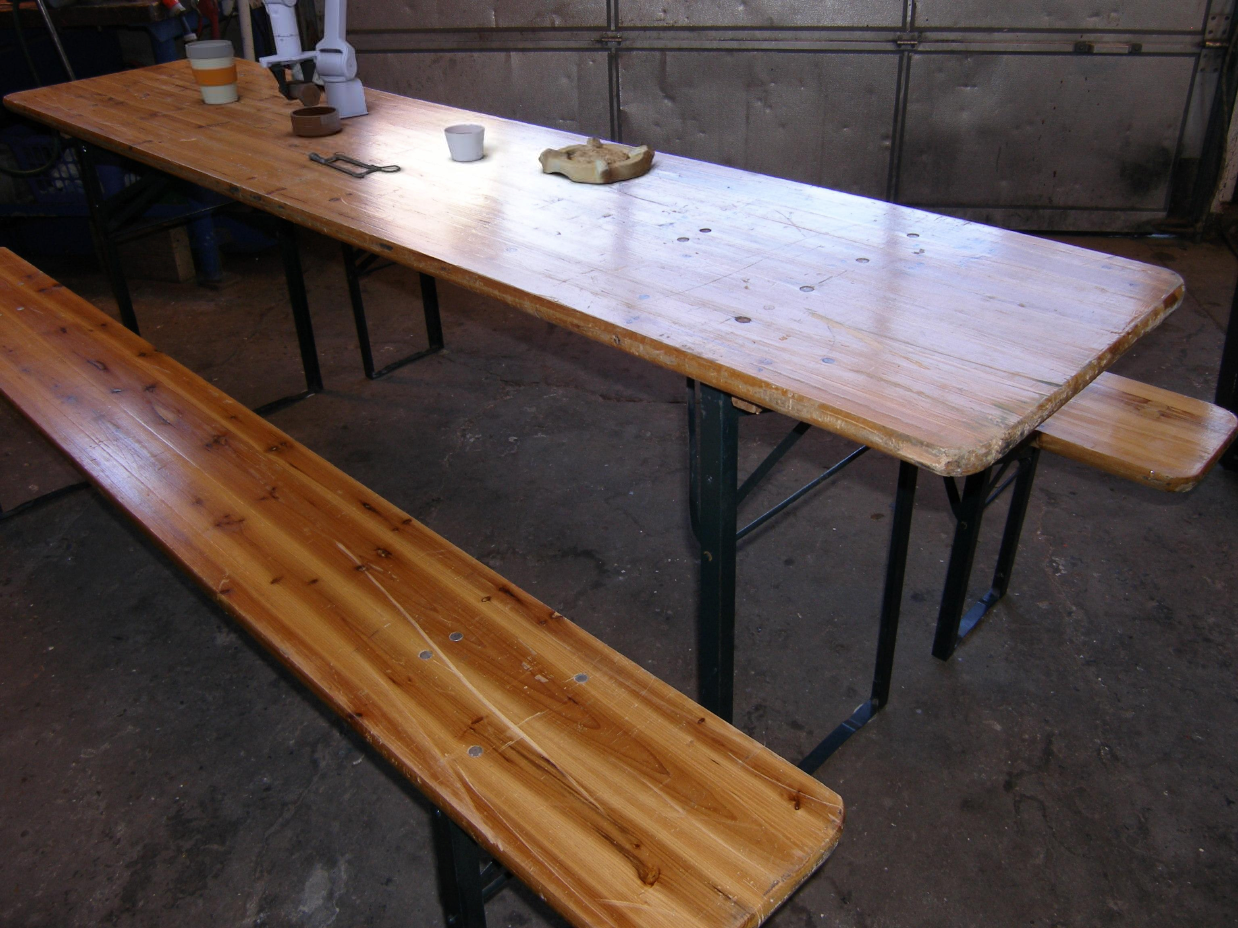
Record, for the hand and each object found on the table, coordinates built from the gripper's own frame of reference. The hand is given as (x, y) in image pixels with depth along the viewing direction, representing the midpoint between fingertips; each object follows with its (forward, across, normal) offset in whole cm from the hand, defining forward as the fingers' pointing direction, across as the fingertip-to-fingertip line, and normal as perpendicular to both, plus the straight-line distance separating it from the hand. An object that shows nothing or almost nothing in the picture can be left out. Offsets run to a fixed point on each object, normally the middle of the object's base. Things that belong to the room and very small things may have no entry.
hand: (297, 95), depth 237 cm
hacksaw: (+9, -3, -36) cm, 38 cm away
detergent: (+9, +25, +44) cm, 52 cm away
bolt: (+2, 0, 0) cm, 2 cm away
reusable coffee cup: (+9, -5, +51) cm, 52 cm away
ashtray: (+9, +37, -75) cm, 84 cm away
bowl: (+9, +2, -2) cm, 10 cm away
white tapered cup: (+9, +19, -48) cm, 53 cm away
